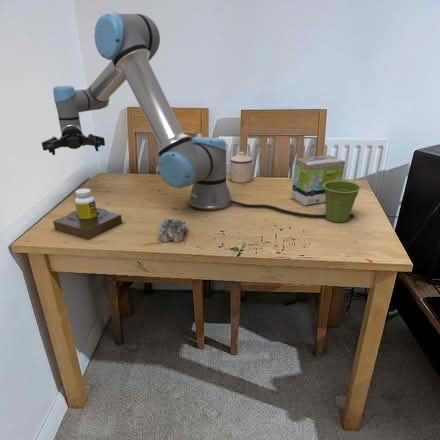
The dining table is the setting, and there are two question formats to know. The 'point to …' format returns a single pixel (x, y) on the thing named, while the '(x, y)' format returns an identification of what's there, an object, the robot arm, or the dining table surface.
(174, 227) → the egg carton
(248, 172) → the teacup with lid
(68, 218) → the bottle stand
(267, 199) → the dining table surface
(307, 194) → the tea box
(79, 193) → the pill bottle
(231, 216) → the dining table surface
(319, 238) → the dining table surface
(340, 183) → the plant pot
